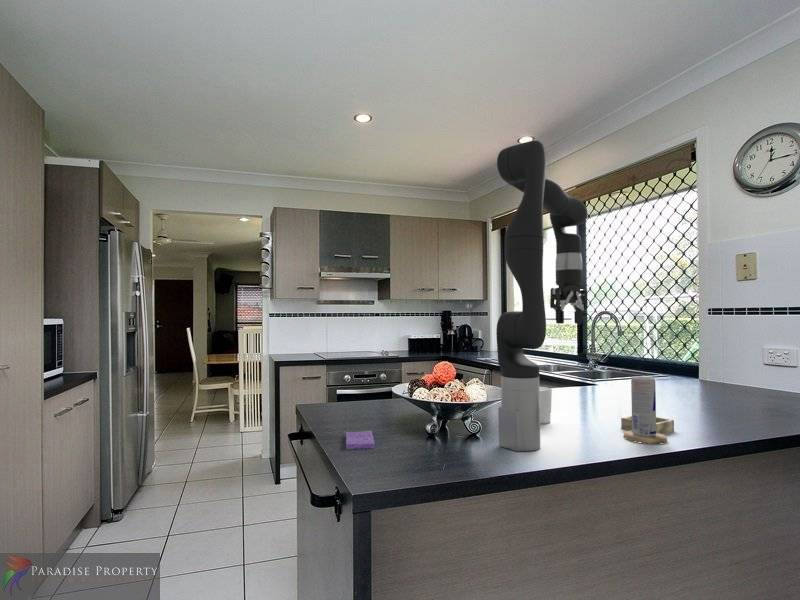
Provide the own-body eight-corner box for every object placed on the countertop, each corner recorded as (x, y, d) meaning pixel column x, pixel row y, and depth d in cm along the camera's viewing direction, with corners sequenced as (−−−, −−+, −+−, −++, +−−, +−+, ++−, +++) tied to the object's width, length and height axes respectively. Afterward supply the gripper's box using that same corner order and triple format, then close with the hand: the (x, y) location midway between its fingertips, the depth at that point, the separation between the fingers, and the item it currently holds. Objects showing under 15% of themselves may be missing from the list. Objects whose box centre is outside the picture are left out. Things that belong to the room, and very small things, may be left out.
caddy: (655, 435, 125) (654, 424, 125) (621, 428, 133) (621, 418, 133) (674, 431, 130) (673, 420, 130) (640, 424, 138) (640, 414, 138)
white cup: (546, 425, 137) (546, 391, 137) (521, 422, 142) (520, 388, 142) (555, 420, 143) (555, 387, 143) (531, 417, 148) (530, 385, 148)
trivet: (653, 446, 115) (653, 442, 115) (615, 437, 123) (615, 433, 123) (674, 440, 120) (674, 436, 120) (637, 432, 129) (637, 428, 129)
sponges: (346, 451, 113) (346, 443, 114) (345, 438, 126) (345, 431, 126) (375, 450, 114) (375, 442, 114) (371, 437, 127) (371, 430, 127)
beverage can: (660, 437, 119) (659, 378, 120) (638, 437, 119) (637, 378, 120) (649, 432, 125) (648, 375, 125) (628, 432, 125) (627, 375, 125)
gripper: (563, 266, 133) (564, 323, 132) (594, 269, 141) (595, 323, 140) (542, 268, 139) (543, 323, 139) (573, 271, 147) (573, 323, 146)
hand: (569, 323), depth 139 cm, fingers open, 8 cm apart
